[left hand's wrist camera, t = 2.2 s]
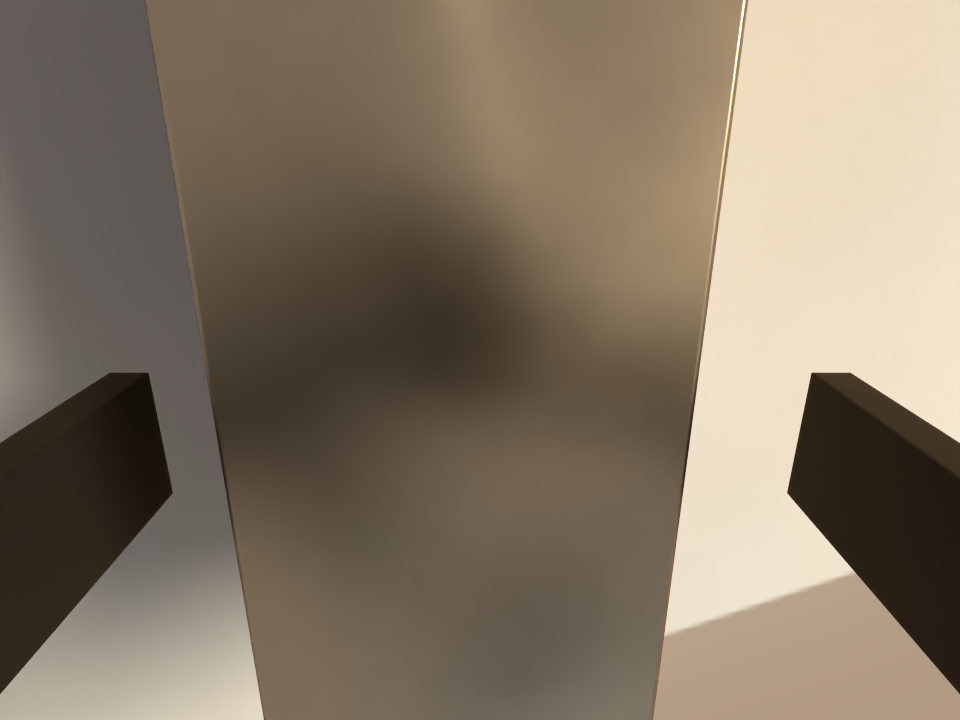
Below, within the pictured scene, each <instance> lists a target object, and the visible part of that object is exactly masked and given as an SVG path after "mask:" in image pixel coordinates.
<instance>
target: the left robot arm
mask: <svg viewBox="0 0 960 720" xmlns="http://www.w3.org/2000/svg"><path fill="white" fill-rule="evenodd" d="M172 493H173V492H172V487H171V482H170V477H169V472H168V467H167V462H166V457H165V452H164V447H163V442H162V438H161V433H160V428H159V423H158V418H157V413H156V408H155V403H154V398H153V393H152V388H151V383H150V378H149V373H109V374H107V375H106V376H104V377H102V378H101V379H99V380H98V381H96V382H95V383H93V384H92V385H90V386H88V387H87V388H85V389H84V390H82V391H81V392H79V393H78V394H76V395H74V396H73V397H71V398H70V399H68V400H67V401H65V402H63V403H62V404H60V405H59V406H57V407H56V408H54V409H53V410H51V411H49V412H48V413H46V414H45V415H43V416H42V417H40V418H39V419H37V420H35V421H34V422H32V423H31V424H29V425H28V426H26V427H25V428H23V429H21V430H20V431H18V432H17V433H15V434H14V435H12V436H10V437H9V438H7V439H6V440H4V441H3V442H1V443H0V694H1V692H2V691H3V690H4V689H5V688H6V687H7V685H8V684H9V683H10V682H11V681H12V680H13V678H14V677H15V676H16V675H17V674H18V673H19V671H20V670H21V669H22V668H23V667H24V666H25V664H26V663H27V662H28V661H29V660H30V659H31V657H32V656H33V655H34V654H35V653H36V652H37V650H38V649H39V648H40V647H41V646H42V645H43V644H44V642H45V641H46V640H47V639H48V638H49V637H50V635H51V634H52V633H53V632H54V631H55V630H56V628H57V627H58V626H59V625H60V624H61V623H62V621H63V620H64V619H65V618H66V617H67V616H68V614H69V613H70V612H71V611H72V610H73V609H74V607H75V606H76V605H77V604H78V603H79V602H80V600H81V599H82V598H83V597H84V596H85V595H86V593H87V592H88V591H89V590H90V589H91V588H92V586H93V585H94V584H95V583H96V582H97V581H98V579H99V578H100V577H101V576H102V575H103V574H104V572H105V571H106V570H107V569H108V568H109V567H110V565H111V564H112V563H113V562H114V561H115V560H116V559H117V557H118V556H119V555H120V554H121V553H122V552H123V550H124V549H125V548H126V547H127V546H128V545H129V543H130V542H131V541H132V540H133V539H134V538H135V536H136V535H137V534H138V533H139V532H140V531H141V529H142V528H143V527H144V526H145V525H146V524H147V522H148V521H149V520H150V519H151V518H152V517H153V515H154V514H155V513H156V512H157V511H158V510H159V508H160V507H161V506H162V505H163V504H164V503H165V501H166V500H167V499H168V498H169V497H170V496H171V494H172ZM787 493H788V494H789V496H790V497H791V498H792V499H793V500H794V501H795V503H796V504H797V505H798V506H799V507H800V508H801V510H802V511H803V512H804V513H805V514H806V515H807V517H808V518H809V519H810V520H811V521H812V522H813V524H814V525H815V526H816V527H817V528H818V529H819V531H820V532H821V533H822V534H823V535H824V536H825V538H826V539H827V540H828V541H829V542H830V543H831V545H832V546H833V547H834V548H835V549H836V550H837V552H838V553H839V554H840V555H841V556H842V557H843V559H844V560H845V561H846V562H847V563H848V564H849V565H850V567H851V568H852V569H853V570H854V571H855V572H856V574H857V575H858V576H859V577H860V578H861V579H862V581H863V582H864V583H865V584H866V585H867V586H868V588H869V589H870V590H871V591H872V592H873V593H874V595H875V596H876V597H877V598H878V599H879V600H880V602H881V603H882V604H883V605H884V606H885V607H886V609H887V610H888V611H889V612H890V613H891V614H892V616H893V617H894V618H895V619H896V620H897V621H898V623H899V624H900V625H901V626H902V627H903V628H904V629H905V631H906V632H907V633H908V634H909V635H910V637H911V638H912V639H913V640H914V641H915V642H916V644H917V645H918V646H919V647H920V648H921V649H922V650H923V652H924V653H925V654H926V655H927V656H928V657H929V659H930V660H931V661H932V662H933V663H934V664H935V666H936V667H937V668H938V669H939V670H940V671H941V673H942V674H943V675H944V676H945V677H946V678H947V680H948V681H949V682H950V683H951V684H952V685H953V687H954V688H955V689H956V690H957V691H958V692H959V694H960V443H959V442H957V441H956V440H954V439H953V438H951V437H950V436H948V435H946V434H945V433H943V432H942V431H940V430H939V429H937V428H935V427H934V426H932V425H931V424H929V423H928V422H926V421H925V420H923V419H921V418H920V417H918V416H917V415H915V414H914V413H912V412H911V411H909V410H907V409H906V408H904V407H903V406H901V405H900V404H898V403H897V402H895V401H893V400H892V399H890V398H889V397H887V396H886V395H884V394H882V393H881V392H879V391H878V390H876V389H875V388H873V387H872V386H870V385H868V384H867V383H865V382H864V381H862V380H861V379H859V378H858V377H856V376H854V375H853V374H851V373H811V378H810V383H809V388H808V393H807V398H806V403H805V408H804V413H803V418H802V423H801V428H800V433H799V438H798V442H797V447H796V452H795V457H794V462H793V467H792V472H791V477H790V482H789V487H788V492H787Z"/></svg>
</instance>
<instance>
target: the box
mask: <svg viewBox="0 0 960 720" xmlns="http://www.w3.org/2000/svg"><path fill="white" fill-rule="evenodd" d="M145 5H146V11H147V17H148V23H149V29H150V35H151V41H152V47H153V53H154V59H155V65H156V71H157V77H158V83H159V89H160V95H161V101H162V107H163V113H164V119H165V125H166V131H167V137H168V143H169V149H170V155H171V162H172V168H173V174H174V180H175V186H176V192H177V198H178V204H179V210H180V216H181V222H182V228H183V234H184V240H185V246H186V252H187V258H188V264H189V270H190V276H191V282H192V288H193V294H194V300H195V306H196V312H197V318H198V324H199V330H200V337H201V343H202V349H203V355H204V361H205V367H206V373H207V379H208V385H209V391H210V397H211V403H212V409H213V415H214V421H215V427H216V433H217V439H218V445H219V451H220V457H221V463H222V469H223V475H224V481H225V487H226V493H227V499H228V506H229V512H230V518H231V524H232V530H233V536H234V542H235V548H236V554H237V560H238V566H239V572H240V578H241V584H242V590H243V596H244V602H245V608H246V614H247V620H248V626H249V632H250V638H251V644H252V650H253V656H254V662H255V668H256V674H257V681H258V687H259V693H260V699H261V705H262V711H263V717H264V720H653V714H654V707H655V699H656V692H657V684H658V676H659V669H660V662H661V654H662V646H663V639H664V631H665V624H666V616H667V609H668V601H669V594H670V586H671V579H672V571H673V563H674V556H675V548H676V541H677V533H678V526H679V518H680V511H681V503H682V496H683V488H684V480H685V473H686V465H687V458H688V450H689V443H690V435H691V428H692V420H693V412H694V405H695V397H696V390H697V382H698V375H699V367H700V360H701V352H702V345H703V337H704V329H705V322H706V314H707V307H708V299H709V292H710V284H711V277H712V269H713V262H714V254H715V246H716V239H717V231H718V224H719V216H720V209H721V201H722V194H723V186H724V179H725V171H726V163H727V156H728V148H729V141H730V133H731V126H732V118H733V111H734V103H735V96H736V88H737V80H738V73H739V65H740V58H741V50H742V43H743V35H744V28H745V20H746V12H747V5H748V0H145Z"/></svg>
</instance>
